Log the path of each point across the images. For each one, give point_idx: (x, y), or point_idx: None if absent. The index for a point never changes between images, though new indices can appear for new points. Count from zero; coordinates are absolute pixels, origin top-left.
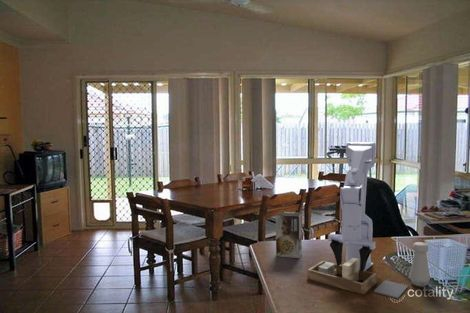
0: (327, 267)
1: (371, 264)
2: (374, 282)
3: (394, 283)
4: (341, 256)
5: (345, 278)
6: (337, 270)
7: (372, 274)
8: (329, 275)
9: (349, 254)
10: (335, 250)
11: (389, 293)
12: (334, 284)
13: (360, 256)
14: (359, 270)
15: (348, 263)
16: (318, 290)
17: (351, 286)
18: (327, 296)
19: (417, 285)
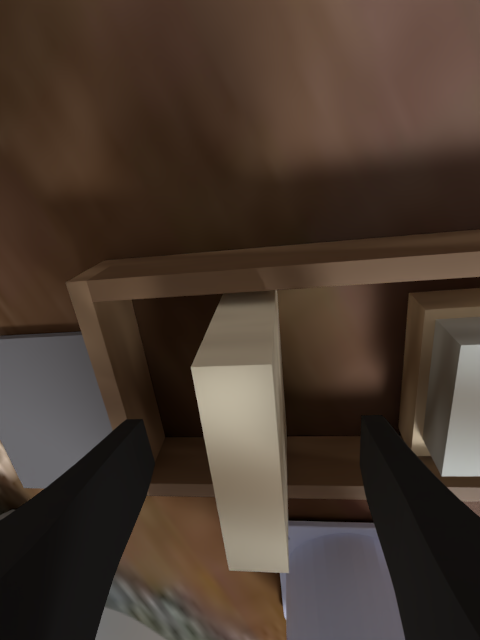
0: (472, 378)
1: (283, 604)
2: None
3: None
4: (380, 535)
5: (242, 303)
6: None
7: None
8: (389, 261)
9: (392, 633)
10: (470, 566)
11: (11, 360)
12: (322, 244)
13: (32, 540)
14: None
15: (239, 436)
16: (400, 64)
17: (178, 262)
18: (273, 6)
19: (9, 511)
